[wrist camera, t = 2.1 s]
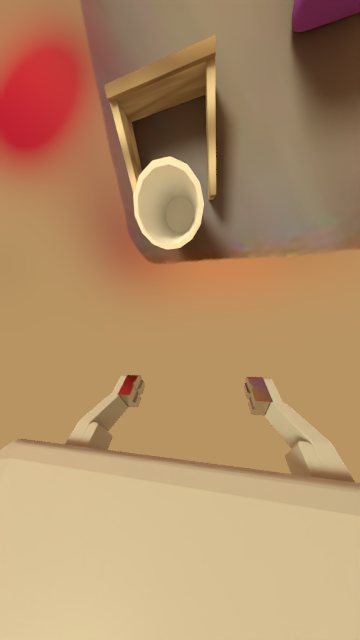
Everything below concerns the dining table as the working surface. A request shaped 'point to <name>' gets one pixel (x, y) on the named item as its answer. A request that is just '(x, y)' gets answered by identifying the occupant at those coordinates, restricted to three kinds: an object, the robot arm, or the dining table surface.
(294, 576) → the robot arm
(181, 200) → the foam cup
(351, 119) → the dining table surface
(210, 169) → the cup holder
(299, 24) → the toy camera
